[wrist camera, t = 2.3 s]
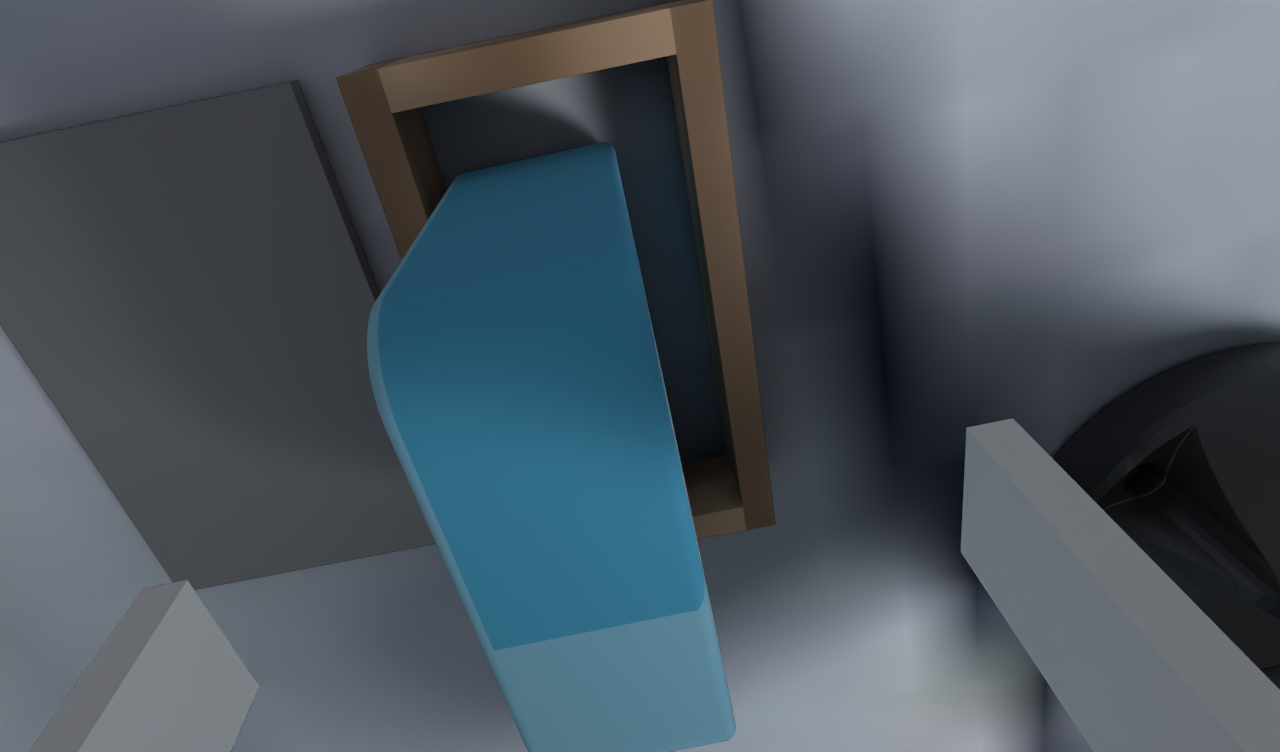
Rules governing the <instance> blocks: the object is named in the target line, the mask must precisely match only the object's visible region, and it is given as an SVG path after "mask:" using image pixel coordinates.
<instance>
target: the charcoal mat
mask: <svg viewBox="0 0 1280 752" xmlns="http://www.w3.org/2000/svg"><path fill="white" fill-rule="evenodd" d="M379 295H380V294H379V291H378V288H377V286H376V283H375V281H374V278H373V275H372V273H371V270H370V268H369V265H368V262H367V260H366V257H365V255H364V252H363V249H362V247H361V244H360V242H359V239H358V236H357V234H356V231H355V229H354V226H353V223H352V221H351V218H350V216H349V213H348V210H347V208H346V205H345V203H344V200H343V197H342V195H341V192H340V190H339V187H338V184H337V182H336V179H335V177H334V174H333V171H332V169H331V166H330V164H329V161H328V158H327V156H326V153H325V151H324V148H323V145H322V143H321V140H320V138H319V135H318V133H317V130H316V127H315V125H314V122H313V120H312V117H311V114H310V112H309V109H308V107H307V104H306V101H305V99H304V96H303V94H302V91H301V88H300V86H299V83H298V81H297V80H295V81H291V82H286V83H281V84H276V85H271V86H267V87H262V88H257V89H252V90H247V91H243V92H238V93H233V94H228V95H224V96H219V97H214V98H209V99H204V100H200V101H195V102H190V103H185V104H180V105H176V106H171V107H166V108H161V109H157V110H152V111H147V112H142V113H137V114H133V115H128V116H123V117H118V118H113V119H109V120H104V121H99V122H94V123H90V124H85V125H80V126H75V127H70V128H66V129H61V130H56V131H51V132H46V133H42V134H37V135H32V136H27V137H23V138H18V139H13V140H8V141H3V142H0V325H1V327H2V328H3V330H4V331H5V333H6V334H7V336H8V337H9V339H10V340H11V342H12V343H13V345H14V346H15V348H16V349H17V351H18V352H19V354H20V355H21V357H22V358H23V360H24V361H25V363H26V364H27V366H28V367H29V368H30V370H31V371H32V373H33V374H34V376H35V377H36V379H37V380H38V382H39V383H40V385H41V386H42V388H43V389H44V391H45V392H46V394H47V395H48V397H49V398H50V400H51V401H52V403H53V404H54V406H55V407H56V409H57V410H58V412H59V413H60V415H61V416H62V418H63V419H64V421H65V422H66V424H67V425H68V427H69V428H70V429H71V431H72V432H73V434H74V435H75V437H76V438H77V440H78V441H79V443H80V444H81V446H82V447H83V449H84V450H85V452H86V453H87V455H88V456H89V458H90V459H91V461H92V462H93V464H94V465H95V467H96V468H97V470H98V471H99V473H100V474H101V476H102V477H103V479H104V480H105V482H106V483H107V485H108V486H109V487H110V489H111V490H112V492H113V493H114V495H115V496H116V498H117V499H118V501H119V502H120V504H121V505H122V507H123V508H124V510H125V511H126V513H127V514H128V516H129V517H130V519H131V520H132V522H133V523H134V525H135V526H136V528H137V529H138V531H139V532H140V534H141V535H142V537H143V538H144V540H145V541H146V543H147V544H148V546H149V547H150V548H151V550H152V551H153V553H154V554H155V556H156V557H157V559H158V560H159V562H160V563H161V565H162V566H163V568H164V569H165V571H166V572H167V574H168V575H169V577H170V578H171V580H172V581H173V583H174V582H179V581H184V580H188V582H189V583H190V584H191V586H192V587H193V589H194V590H197V589H202V588H207V587H212V586H217V585H223V584H228V583H233V582H238V581H244V580H249V579H254V578H259V577H264V576H270V575H275V574H280V573H285V572H291V571H296V570H301V569H306V568H312V567H317V566H322V565H327V564H332V563H338V562H343V561H348V560H353V559H359V558H364V557H369V556H374V555H379V554H385V553H390V552H395V551H400V550H406V549H411V548H416V547H421V546H426V545H432V544H436V542H435V540H434V538H433V536H432V533H431V531H430V529H429V526H428V524H427V522H426V520H425V517H424V515H423V513H422V511H421V508H420V506H419V504H418V502H417V499H416V497H415V495H414V493H413V490H412V488H411V486H410V484H409V481H408V479H407V477H406V475H405V472H404V470H403V468H402V465H401V463H400V461H399V459H398V456H397V454H396V452H395V450H394V447H393V445H392V443H391V441H390V438H389V436H388V434H387V432H386V429H385V427H384V424H383V422H382V419H381V417H380V414H379V411H378V408H377V404H376V401H375V397H374V394H373V389H372V385H371V380H370V374H369V367H368V358H367V329H368V322H369V317H370V313H371V310H372V307H373V305H374V303H375V301H376V300H377V298H378V296H379Z"/></svg>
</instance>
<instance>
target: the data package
mask: <svg viewBox="0 0 1280 752" xmlns="http://www.w3.org/2000/svg"><path fill="white" fill-rule="evenodd" d="M367 358H368V367H369V374H370V380H371V385H372V389H373V394H374V397H375V401H376V404H377V408H378V411H379V414H380V417H381V419H382V422H383V424H384V427H385V429H386V432H387V434H388V436H389V438H390V441H391V443H392V445H393V447H394V450H395V452H396V454H397V456H398V459H399V461H400V463H401V465H402V468H403V470H404V472H405V475H406V477H407V479H408V481H409V484H410V486H411V488H412V490H413V493H414V495H415V497H416V499H417V502H418V504H419V506H420V508H421V511H422V513H423V515H424V517H425V520H426V522H427V524H428V526H429V529H430V531H431V533H432V536H433V538H434V540H435V542H436V545H437V547H438V549H439V551H440V554H441V556H442V558H443V560H444V563H445V565H446V567H447V569H448V572H449V574H450V576H451V578H452V581H453V583H454V585H455V587H456V590H457V592H458V594H459V597H460V599H461V601H462V603H463V606H464V608H465V610H466V612H467V615H468V617H469V619H470V621H471V624H472V626H473V628H474V630H475V633H476V635H477V637H478V639H479V642H480V644H481V646H482V649H483V651H484V653H485V655H486V658H487V660H488V662H489V664H490V667H491V669H492V671H493V673H494V676H495V678H496V680H497V682H498V685H499V687H500V689H501V691H502V694H503V696H504V698H505V700H506V703H507V705H508V707H509V710H510V712H511V714H512V716H513V719H514V721H515V723H516V725H517V728H518V730H519V732H520V734H521V737H522V739H523V741H524V743H525V746H526V748H527V750H528V752H671V751H676V750H681V749H686V748H692V747H697V746H702V745H707V744H712V743H717V742H723V741H727V740H729V739H731V738H732V737H733V736H734V734H735V731H736V724H735V719H734V714H733V709H732V704H731V700H730V695H729V690H728V685H727V680H726V676H725V671H724V666H723V661H722V656H721V651H720V647H719V642H718V637H717V632H716V627H715V623H714V618H713V613H712V608H711V603H710V598H709V594H708V589H707V584H706V579H705V574H704V570H703V565H702V560H701V555H700V550H699V546H698V541H697V536H696V531H695V526H694V521H693V517H692V512H691V507H690V502H689V497H688V493H687V488H686V483H685V478H684V473H683V469H682V464H681V459H680V454H679V450H678V445H677V440H676V435H675V431H674V426H673V421H672V416H671V412H670V407H669V402H668V398H667V393H666V388H665V383H664V379H663V374H662V369H661V365H660V360H659V355H658V350H657V346H656V341H655V336H654V332H653V327H652V322H651V318H650V313H649V308H648V303H647V299H646V294H645V289H644V285H643V280H642V275H641V270H640V266H639V261H638V256H637V252H636V247H635V242H634V237H633V233H632V228H631V223H630V219H629V214H628V209H627V204H626V200H625V195H624V190H623V186H622V181H621V176H620V172H619V167H618V162H617V158H616V153H615V149H614V147H613V146H612V145H611V144H610V143H608V142H601V143H597V144H592V145H588V146H583V147H579V148H574V149H570V150H565V151H561V152H556V153H552V154H547V155H543V156H538V157H534V158H529V159H525V160H520V161H516V162H511V163H507V164H502V165H498V166H493V167H489V168H484V169H480V170H475V171H471V172H466V173H462V174H459V175H458V176H457V177H456V178H455V179H454V180H453V182H452V184H451V185H450V187H449V188H448V190H447V191H446V193H445V194H444V196H443V197H442V199H441V201H440V202H439V204H438V205H437V207H436V208H435V210H434V211H433V213H432V214H431V216H430V218H429V219H428V221H427V222H426V224H425V225H424V227H423V228H422V230H421V232H420V233H419V235H418V236H417V238H416V239H415V241H414V242H413V244H412V245H411V247H410V249H409V250H408V252H407V253H406V255H405V256H404V258H403V259H402V261H401V262H400V264H399V266H398V267H397V269H396V270H395V272H394V273H393V275H392V276H391V278H390V279H389V281H388V283H387V284H386V286H385V287H384V289H383V290H382V292H381V293H380V295H379V296H378V298H377V300H376V301H375V303H374V305H373V307H372V310H371V313H370V317H369V322H368V329H367Z"/></svg>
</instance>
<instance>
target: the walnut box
mask: <svg viewBox="0 0 1280 752" xmlns="http://www.w3.org/2000/svg"><path fill="white" fill-rule="evenodd" d="M665 56H666V60H667V67H668V73H669V80H670V86H671V93H672V99H673V106H674V112H675V119H676V125H677V132H678V138H679V145H680V152H681V158H682V165H683V171H684V178H685V184H686V191H687V197H688V204H689V210H690V217H691V223H692V230H693V236H694V243H695V249H696V256H697V263H698V269H699V276H700V282H701V289H702V295H703V302H704V308H705V315H706V321H707V328H708V334H709V341H710V347H711V354H712V360H713V367H714V373H715V380H716V387H717V393H718V400H719V406H720V413H721V419H722V426H723V432H724V439H725V445H726V452H727V456H722V457H716V458H711V459H706V460H701V461H696V462H690V463H685V464H682V469H683V473H684V478H685V483H686V488H687V493H688V497H689V502H690V507H691V512H692V517H693V521H694V526H695V531H696V536H697V539H701V538H707V537H712V536H717V535H722V534H728V533H733V532H738V531H743V530H749V529H754V528H759V527H765V526H770V525H775V516H774V508H773V500H772V492H771V483H770V475H769V467H768V458H767V450H766V442H765V433H764V425H763V417H762V409H761V400H760V392H759V384H758V375H757V367H756V359H755V351H754V342H753V334H752V326H751V317H750V309H749V301H748V293H747V284H746V276H745V268H744V259H743V251H742V243H741V235H740V226H739V218H738V210H737V201H736V193H735V185H734V177H733V168H732V160H731V152H730V143H729V135H728V127H727V119H726V110H725V102H724V94H723V85H722V77H721V69H720V60H719V52H718V44H717V36H716V27H715V19H714V11H713V2H712V0H678V1H673V2H669V3H664V4H659V5H654V6H649V7H645V8H640V9H635V10H630V11H625V12H621V13H616V14H611V15H606V16H602V17H597V18H592V19H587V20H582V21H578V22H573V23H568V24H563V25H558V26H554V27H549V28H544V29H539V30H535V31H530V32H525V33H520V34H515V35H511V36H506V37H501V38H496V39H492V40H487V41H482V42H477V43H472V44H468V45H463V46H458V47H453V48H448V49H444V50H439V51H434V52H429V53H425V54H420V55H415V56H410V57H405V58H401V59H396V60H391V61H386V62H381V63H377V64H372V65H368V66H365V67H363V68H360V69H358V70H355V71H352V72H350V73H347V74H345V75H342V76H339V77H337V78H336V79H337V82H338V85H339V88H340V90H341V93H342V96H343V99H344V101H345V104H346V107H347V110H348V112H349V115H350V118H351V121H352V124H353V126H354V129H355V132H356V135H357V137H358V140H359V143H360V146H361V149H362V151H363V154H364V157H365V160H366V162H367V165H368V168H369V171H370V174H371V176H372V179H373V182H374V185H375V187H376V190H377V193H378V196H379V199H380V201H381V204H382V207H383V210H384V212H385V215H386V218H387V221H388V224H389V226H390V229H391V232H392V235H393V237H394V240H395V243H396V246H397V248H398V251H399V254H400V257H401V260H402V259H403V258H404V256H405V255H406V253H407V252H408V250H409V249H410V247H411V245H412V244H413V242H414V241H415V239H416V238H417V236H418V235H419V233H420V232H421V230H422V228H423V227H424V225H425V224H426V222H427V221H428V219H429V218H430V216H431V214H432V213H433V211H434V210H435V208H436V207H437V205H438V204H439V202H440V201H441V199H442V197H443V196H444V194H445V193H446V188H445V185H444V182H443V179H442V175H441V172H440V169H439V166H438V163H437V159H436V156H435V153H434V150H433V147H432V144H431V140H430V137H429V134H428V131H427V128H426V124H425V121H424V118H423V115H422V112H421V109H420V107H424V106H429V105H434V104H438V103H443V102H448V101H453V100H458V99H463V98H467V97H472V96H477V95H482V94H487V93H492V92H496V91H501V90H506V89H511V88H516V87H521V86H525V85H530V84H535V83H540V82H545V81H550V80H554V79H559V78H564V77H569V76H574V75H578V74H583V73H588V72H593V71H598V70H603V69H607V68H612V67H617V66H622V65H627V64H632V63H636V62H641V61H646V60H651V59H656V58H661V57H665Z"/></svg>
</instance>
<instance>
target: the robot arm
mask: <svg viewBox="0 0 1280 752" xmlns="http://www.w3.org/2000/svg"><path fill="white" fill-rule="evenodd" d="M961 553H962V555H963V556H964V558H965V559H966V561H967V562H968V564H969V565H970V567H971V568H972V570H973V571H974V573H975V574H976V576H977V577H978V579H979V580H980V582H981V583H982V585H983V586H984V588H985V589H986V591H987V592H988V594H989V595H990V597H991V598H992V600H993V601H994V603H995V604H996V606H997V607H998V609H999V610H1000V612H1001V613H1002V615H1003V616H1004V618H1005V619H1006V621H1007V622H1008V624H1009V625H1010V627H1011V628H1012V630H1013V631H1014V633H1015V634H1016V636H1017V637H1018V639H1019V640H1020V642H1021V643H1022V645H1023V646H1024V648H1025V649H1026V651H1027V652H1028V654H1029V655H1030V657H1031V658H1032V660H1033V661H1034V663H1035V664H1036V666H1037V667H1038V669H1039V670H1040V672H1041V673H1042V675H1043V676H1044V678H1045V679H1046V681H1047V682H1048V684H1049V685H1050V687H1051V688H1052V690H1053V691H1054V693H1055V694H1056V696H1057V697H1058V699H1059V700H1060V702H1061V703H1062V705H1063V706H1064V708H1065V709H1066V711H1067V712H1068V714H1069V715H1070V717H1071V718H1072V720H1073V721H1074V723H1075V724H1076V726H1077V727H1078V729H1079V730H1080V732H1081V733H1082V735H1083V736H1084V738H1085V740H1086V741H1087V743H1088V744H1089V746H1090V747H1091V749H1092V750H1093V752H1280V343H1268V344H1258V345H1251V346H1244V347H1238V348H1234V349H1230V350H1225V351H1221V352H1218V353H1214V354H1211V355H1207V356H1204V357H1202V358H1199V359H1196V360H1193V361H1190V362H1188V363H1185V364H1183V365H1180V366H1178V367H1175V368H1173V369H1171V370H1169V371H1167V372H1165V373H1163V374H1160V375H1158V376H1157V377H1155V378H1153V379H1151V380H1149V381H1147V382H1145V383H1143V384H1142V385H1140V386H1138V387H1137V388H1135V389H1133V390H1132V391H1130V392H1128V393H1127V394H1125V395H1124V396H1122V397H1121V398H1119V399H1118V400H1116V401H1115V402H1114V403H1112V404H1111V405H1110V406H1108V407H1107V408H1106V409H1104V410H1103V411H1102V412H1100V413H1099V414H1098V415H1097V416H1095V417H1094V418H1093V419H1092V420H1091V421H1089V422H1088V423H1087V424H1086V425H1085V426H1084V427H1083V428H1082V429H1081V430H1080V431H1078V432H1077V433H1076V434H1075V435H1074V436H1073V437H1072V438H1071V439H1070V441H1069V442H1068V443H1067V444H1066V445H1065V446H1064V447H1063V448H1062V449H1061V450H1060V452H1059V453H1058V454H1057V455H1056V456H1055V457H1054V459H1052V458H1051V457H1050V456H1049V454H1048V453H1047V452H1046V451H1045V450H1044V449H1043V448H1042V447H1041V446H1040V445H1039V444H1038V443H1037V442H1036V441H1035V440H1034V439H1033V438H1032V437H1031V436H1030V435H1029V434H1028V433H1027V432H1026V431H1025V430H1024V429H1023V428H1022V427H1021V426H1020V425H1019V424H1018V423H1017V422H1016V421H1015V420H1014V419H1013V418H1012V419H1007V420H1002V421H997V422H992V423H987V424H982V425H977V426H972V427H966V448H965V470H964V491H963V512H962V533H961ZM258 689H259V685H258V684H257V682H256V681H255V679H254V678H253V677H252V675H251V674H250V672H249V671H248V669H247V668H246V666H245V665H244V663H243V662H242V660H241V659H240V657H239V656H238V654H237V653H236V651H235V650H234V648H233V647H232V645H231V644H230V642H229V641H228V639H227V638H226V636H225V635H224V633H223V632H222V631H221V629H220V628H219V626H218V625H217V623H216V622H215V620H214V619H213V617H212V616H211V614H210V613H209V611H208V610H207V608H206V607H205V605H204V604H203V602H202V601H201V599H200V598H199V596H198V595H197V593H196V592H195V590H194V589H193V587H192V586H191V584H190V583H189V582H188V580H184V581H179V582H174V583H169V584H164V585H159V586H154V587H149V588H144V589H142V591H141V592H140V594H139V595H138V596H137V598H136V599H135V601H134V602H133V604H132V605H131V606H130V608H129V609H128V611H127V612H126V614H125V615H124V616H123V618H122V619H121V621H120V622H119V624H118V625H117V626H116V628H115V629H114V631H113V632H112V634H111V635H110V636H109V638H108V639H107V641H106V642H105V644H104V645H103V646H102V648H101V649H100V651H99V652H98V654H97V655H96V656H95V658H94V659H93V661H92V662H91V664H90V665H89V666H88V668H87V669H86V671H85V672H84V674H83V675H82V676H81V678H80V679H79V681H78V682H77V684H76V685H75V686H74V688H73V689H72V691H71V692H70V694H69V695H68V696H67V698H66V699H65V701H64V702H63V704H62V705H61V706H60V708H59V709H58V711H57V712H56V713H55V715H54V716H53V718H52V719H51V721H50V722H49V723H48V725H47V726H46V728H45V729H44V731H43V732H42V733H41V735H40V736H39V738H38V739H37V741H36V742H35V743H34V745H33V746H32V748H31V749H30V751H29V752H231V750H232V747H233V745H234V743H235V741H236V738H237V736H238V734H239V732H240V729H241V727H242V725H243V723H244V720H245V718H246V716H247V714H248V711H249V709H250V707H251V704H252V702H253V700H254V698H255V695H256V693H257V691H258Z"/></svg>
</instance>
